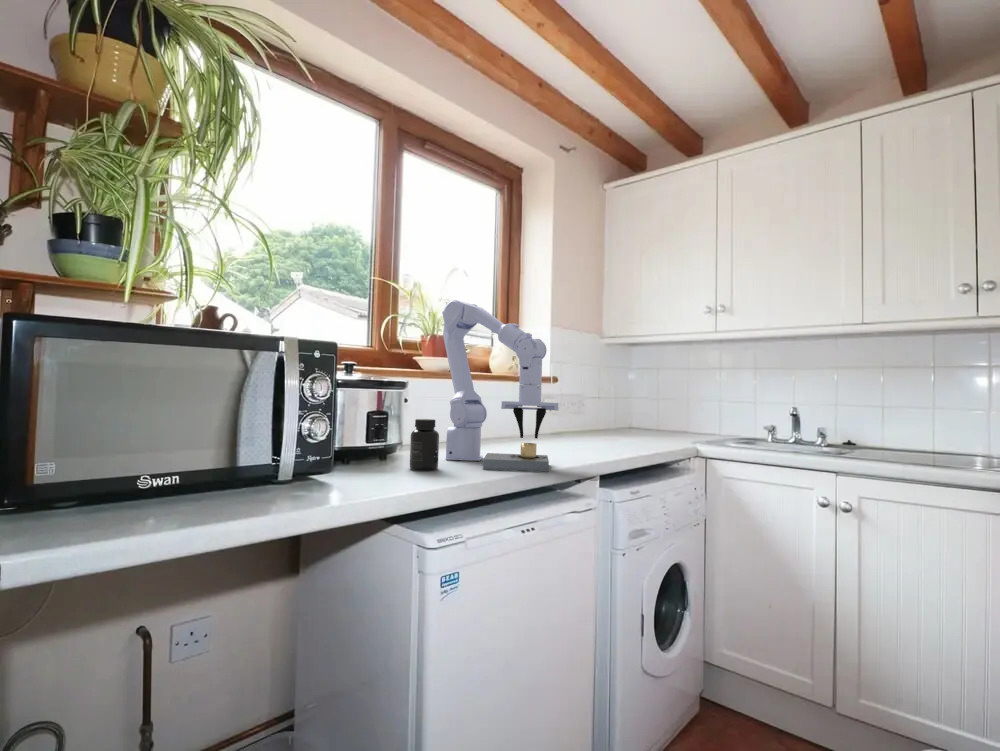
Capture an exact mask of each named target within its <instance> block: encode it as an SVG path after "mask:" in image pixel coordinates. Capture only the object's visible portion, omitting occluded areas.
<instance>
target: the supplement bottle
mask: <svg viewBox="0 0 1000 751" xmlns="http://www.w3.org/2000/svg"><path fill="white" fill-rule="evenodd" d="M414 420H415V421H414V422H415V424H414V428H415V429H414V430H413V431H411V433H410V446H409V447H410V448H409V468H410V470H412V471H418V472H430V471H432V472H433V471H436V470H438V468H439V453H440V452H439V449H440V447H439V446H440V445H439V444H440V434H439V432H438V431H437V430H436V429H435V428H436V427H437V426H436V419H431V418H417V419H414Z"/></svg>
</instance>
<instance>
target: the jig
mask: <svg viewBox="0 0 1000 751" xmlns="http://www.w3.org/2000/svg"><path fill="white" fill-rule="evenodd" d="M520 457H521V453H499V452H497V453H494V452H487V453H486V454H485V456H483V458H482V462H483V463H482V470H485V471H489V470H490V471H491V470H492V471H511V470H518V471H517V472H537V471H540V472H539V473H542V472H543V473H549V470H550V468H549V466H550V465H549V464H550V461H549V460H550V459H549V457H548V455H547V454H536V458H535V459H528V458H520Z"/></svg>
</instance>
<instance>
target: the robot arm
mask: <svg viewBox="0 0 1000 751" xmlns="http://www.w3.org/2000/svg"><path fill="white" fill-rule="evenodd" d="M441 314H442V317H443V318H442V319H443V330H442V331H443V332H442V333H443V334H442V336H443V343H444V347H445V352H446V357H447V362H448V365H449V366H448V367H449V371H450V376H451V380H452V381H451V382H452V385H453V391H454V396H453V397H452V398H451V399H450V400H449V404H450V411H449V418H450V421H451V422H452V424H453V426H448V427H447V431H446V442H445V444H446V446H445V448H446V449H445V460H447V461H448V460H450V461H475V462H476V461H477V462H478V461H479V462H481V460H483V458H484V456H483V455H481V443H482V441H481V440H482V427H483V423H485V421H486V420H487V416H488V414H487V408H486V406H485V405H484V404H483V401H482V397H481V396H480V395H479V394H478V393H477V391H475V389H474V388H475V387H474V384H473V379H472V374H471V368H470V364H469V359H468V355H467V350H466V346H465V340H464V338H465V336H466V335H467V334H468V333H469V332H470V331H472V330H473V328H474V327H476V325H477V324H480V325H481V326H483V327H485V328H486V329H488V330H490V331H491V332H493V333H494V334H495V335H497V338H498V339H497V340H498V341H499V342H500V343H502V344H503V345H504V346H506V347H507V348H508V349H510V350H512V351H513V352H515V354H516V356H517V358H518V361H519V362H518V363H519V380H518V382H519V385H518V386H519V387H518V390H519V391H518V401H514V400H513V401H511V400H510V401H507V400H505V401H503V400H502V401H501V406H500V408H501V409H502V410H513V414H514V417H515V419H516V422H517V425H518V430H519V435H520V436H519V437H520V438H521V439H523V438H524V410H535V411H536V413H535V430H534V439H538V436H539V432H540V428H541V425H542V422H543V420H544V418H545V416H546V414H547V411H555V412H557V411H559V402H548V401H547V402H546V401H545V402H544V401H542V386H543V384H542V383H543V382H542V380H543V378H542V377H543V359H544V358H545V357H546V354H547V345H546V344H545V343H544V341H543V340H542V339H541V338H533V334H531V332H525V330H522V329H520V325H518V324H517V323H514V322H513V323H509V322H508V323H506V324H505V323H503V321H501V320H499V319H498V318H496V317H495V316H494V315H492V314H491V313H489V311H487V310H486V309H484V308H483V307H480V306H478V305H477V304H475V303H469V302H463V301H459V300H457V299H452V300H450V301H448V302H447V304H446V306H444V309H443V311H442V313H441ZM523 406H524V407H523ZM526 406H527V407H526ZM528 406H529V407H528ZM531 406H533V407H531ZM534 406H535V407H534Z"/></svg>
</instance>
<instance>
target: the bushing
mask: <svg viewBox="0 0 1000 751" xmlns="http://www.w3.org/2000/svg"><path fill="white" fill-rule="evenodd" d="M520 454H521V457H520V458H528V459H535V458H536V455H537V443H535V442H521V443H520Z"/></svg>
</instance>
